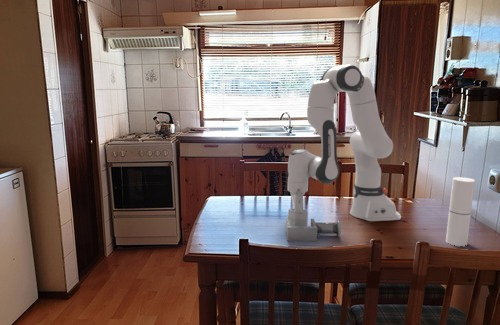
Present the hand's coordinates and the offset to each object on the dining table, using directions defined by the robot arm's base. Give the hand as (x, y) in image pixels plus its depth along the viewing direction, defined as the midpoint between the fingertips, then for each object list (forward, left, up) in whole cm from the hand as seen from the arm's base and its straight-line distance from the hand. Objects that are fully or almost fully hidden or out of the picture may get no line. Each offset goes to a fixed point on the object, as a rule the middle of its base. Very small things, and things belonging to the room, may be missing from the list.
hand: (296, 216), depth 162 cm
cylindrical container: (-59, +21, -2) cm, 63 cm away
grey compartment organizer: (-5, +16, -2) cm, 17 cm away
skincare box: (0, +6, -2) cm, 7 cm away
